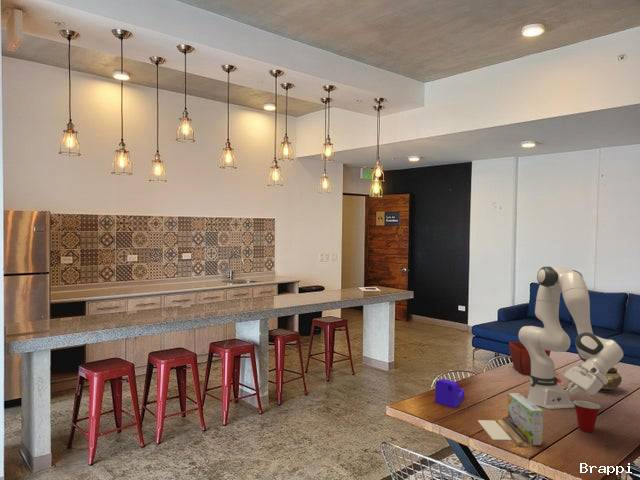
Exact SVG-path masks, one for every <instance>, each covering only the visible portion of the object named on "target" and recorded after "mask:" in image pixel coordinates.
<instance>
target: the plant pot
mask: <svg viewBox="0 0 640 480" xmlns="http://www.w3.org/2000/svg"><path fill="white" fill-rule="evenodd" d="M508 347H509V353H510V357H511V362H512V365H513V368H514V370H516V371H517V373H519V374H521V375H523V376H530V374H531V359H530V355H529V353H528V351H527V349H526V348H525V346H524V345H523V344H522V343H521V342H520V341H509V342H508ZM551 352H552V351H549V350H545V353H546V354H547V355H548V356H549V357H551V356H550V355H551Z"/></svg>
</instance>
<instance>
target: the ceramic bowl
mask: <svg viewBox="0 0 640 480" xmlns="http://www.w3.org/2000/svg"><path fill="white" fill-rule="evenodd" d="M604 376H605V377H606V379H607V380H608V383H607V384H605V385H604V384H603V387H602V388H601V389H600V390H599V391H598V392H601V393H611V392H613V389H616V388H617V387H619V386H620V385H621V383H622V381H623V380H622V376H621V373H619V372H618V369H617V368H616V367H615V366H614V367H613V368H611V369H609V370H608V372H607V373H606V374H605V375H604Z"/></svg>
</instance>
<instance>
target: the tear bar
mask: <svg viewBox="0 0 640 480" xmlns="http://www.w3.org/2000/svg"><path fill="white" fill-rule="evenodd" d="M497 424H498V425H499V426H500V427H501V428H502V429H503V430H504V431H505V433H506V434H507V435H508V436H509V437H510V438H511V439H512V440H511V441H513V443H514V444H515V445H516V446H517V447H527V445H528V444H527V443H528V442H527V439H526V438H525V437H524V436H523V435H522V434H521V433H520V432H519V431H518V430H517V429H516V428H515V427H514V426H513V425H512V424H511V422H510V421H509V420H508V417H506V416H503V419H497Z"/></svg>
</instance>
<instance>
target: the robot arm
mask: <svg viewBox="0 0 640 480" xmlns="http://www.w3.org/2000/svg"><path fill="white" fill-rule="evenodd" d="M536 275H537V277H536V279H537V282H538V284H539V286H538V289H537V294H536V300H535V308H534V309H535V310H534V314H535V315H534V316H535V317H536V318H537V319H538V320H540V321H541V322H542V324H543V327H539V326H535V325H525V326H522V327H521V328H520V329H519V330H518V335H517V336H518V340H519V342H521V343H522V344H523V345H524V346H525V348H526V349H527V351H528V353H529V355H530V359H531V374H530V375H529V388H528V389H529V391H528V394H527V398H526V399H527V400H529V401H530V402H532V403H533V404H534V405H536V406H537V407H541V408H544V409H548V410H553V409H554V410H557V409H570V408H571V409H575V404H574V402H573V400H570V395H571V396H572V395H574V394H575V393H577V392H580V391H584V392H585V393H587V394H588V395H590V396H593V395H596V394H597V393H598V392H600V391H599V390H600V389H601V388H602V387H603V384H604V385H605V384H607V383H608V380H607V379H606V377H605V376H604V375H605V374H606V373H607V372H608V370H609V369H611V368H613V367H614V368H615V366H616V365H617V364H618V363H619V362H620V361H621V360H622V358H624V351H623V348H622V346H621V345H620V344H619V343H618V342H617V341H616V340H614V339H608V338H607V339H606V338H602V337H600V336H597V335H595V334H594V333H593V329H592V323H591V308H590V307H591V303H590V301H591V300H590V294H589V290H588V286H587V284H586V281H585V280H584V277H583V276H584V275H583V274H582V273H581V272H580V271H577V270H575V269H569V268H565V267H557V266H556V267H554V266H553V267H552V266H542V267H540V269H539V270H538V272H537V274H536ZM561 294H562V298H563V302H564V304H565V307H566V308H567V310H568V312H569V314H570V315H571V317H572V319H573V322H574V324H575V328H576V331H577V334H578V335H577V336H576V338H575V341H574V342H575V347H576V350H577V352H578V353H577V355H578V357H579V359H580V360H582V362H583V363H581V364H579V365H576V366H573V367H571V368H570V369H568V370H567V371H566V372H564V373H563V378H564V379H565V380H566V381H567V382H569V384H568V387H567V388H566V389H564V388H563V387H562V386H561V385H559V384H561V383H563V381H562V379H560V378H558V377H556V376H555V362H554V360H553V358H551V356H548V355H547V354H546V353H545V350H549V351H551V352H554V353H565V352H567V351H568V350H569V349H570V346H571V338H570V336H569V335H568V333H567V332H566V331H565V330H564V329H563V328H562V327H563V326H562V325H561V323H560V318H559V311H560V302H561V299H560V298H561Z"/></svg>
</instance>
